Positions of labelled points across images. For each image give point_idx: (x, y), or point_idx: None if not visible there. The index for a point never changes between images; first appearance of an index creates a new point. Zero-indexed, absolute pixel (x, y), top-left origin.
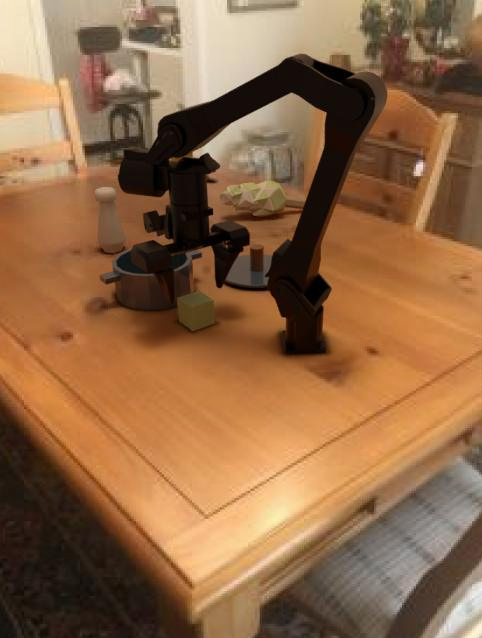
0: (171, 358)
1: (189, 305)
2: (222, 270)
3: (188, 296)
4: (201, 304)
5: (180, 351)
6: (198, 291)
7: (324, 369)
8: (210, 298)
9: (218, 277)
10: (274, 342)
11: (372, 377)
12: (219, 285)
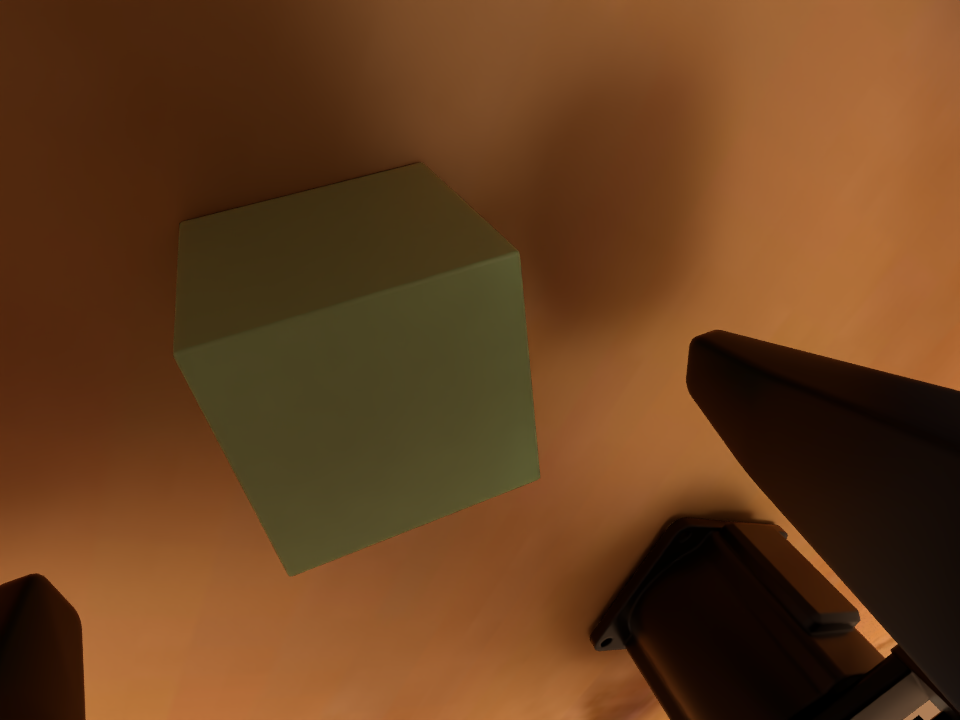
0: None
1: (286, 546)
2: (876, 581)
3: (338, 364)
4: (407, 529)
5: (118, 612)
6: (500, 268)
7: (624, 695)
8: (529, 451)
9: (782, 449)
10: (607, 564)
11: None
12: (710, 408)
